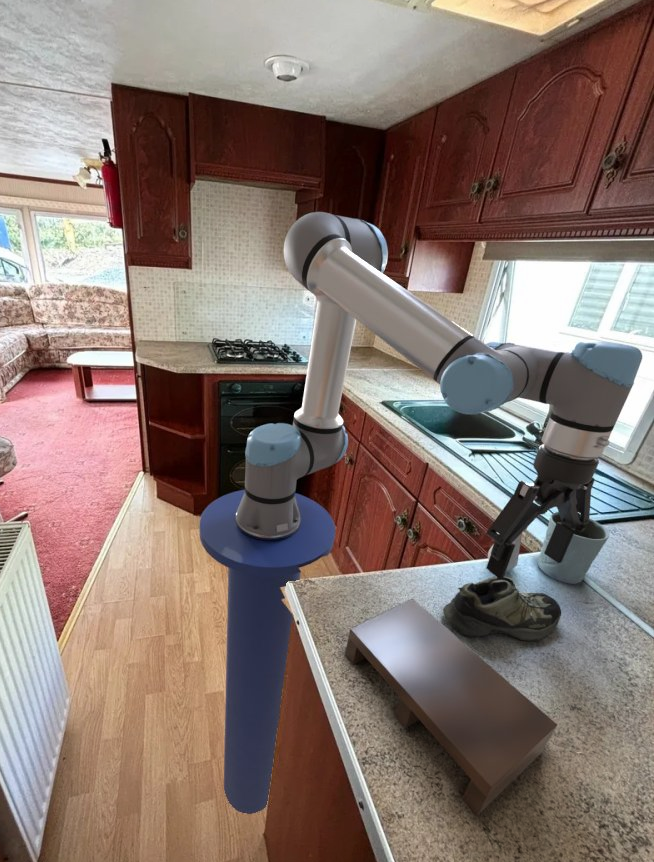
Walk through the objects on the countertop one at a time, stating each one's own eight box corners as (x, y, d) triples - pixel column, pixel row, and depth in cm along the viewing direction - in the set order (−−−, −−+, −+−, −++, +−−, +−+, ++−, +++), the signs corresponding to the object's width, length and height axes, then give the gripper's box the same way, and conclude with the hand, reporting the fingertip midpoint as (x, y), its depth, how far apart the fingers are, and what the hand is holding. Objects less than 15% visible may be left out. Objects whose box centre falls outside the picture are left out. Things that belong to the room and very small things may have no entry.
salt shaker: (480, 565, 88) (498, 515, 83) (490, 554, 92) (507, 505, 87) (509, 579, 85) (529, 528, 79) (517, 567, 88) (537, 517, 83)
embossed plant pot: (596, 579, 86) (619, 533, 82) (568, 592, 82) (591, 544, 77) (550, 551, 95) (569, 507, 90) (522, 561, 90) (540, 516, 85)
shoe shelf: (344, 655, 65) (349, 628, 63) (405, 623, 72) (412, 598, 69) (476, 816, 47) (491, 787, 44) (541, 753, 53) (557, 724, 51)
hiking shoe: (570, 639, 71) (590, 598, 67) (460, 648, 68) (475, 606, 64) (535, 603, 79) (552, 565, 75) (435, 609, 75) (447, 570, 72)
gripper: (531, 471, 52) (486, 597, 61) (650, 453, 61) (595, 565, 69) (485, 448, 58) (450, 565, 67) (599, 434, 67) (555, 539, 76)
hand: (524, 565), depth 68 cm, fingers open, 13 cm apart
